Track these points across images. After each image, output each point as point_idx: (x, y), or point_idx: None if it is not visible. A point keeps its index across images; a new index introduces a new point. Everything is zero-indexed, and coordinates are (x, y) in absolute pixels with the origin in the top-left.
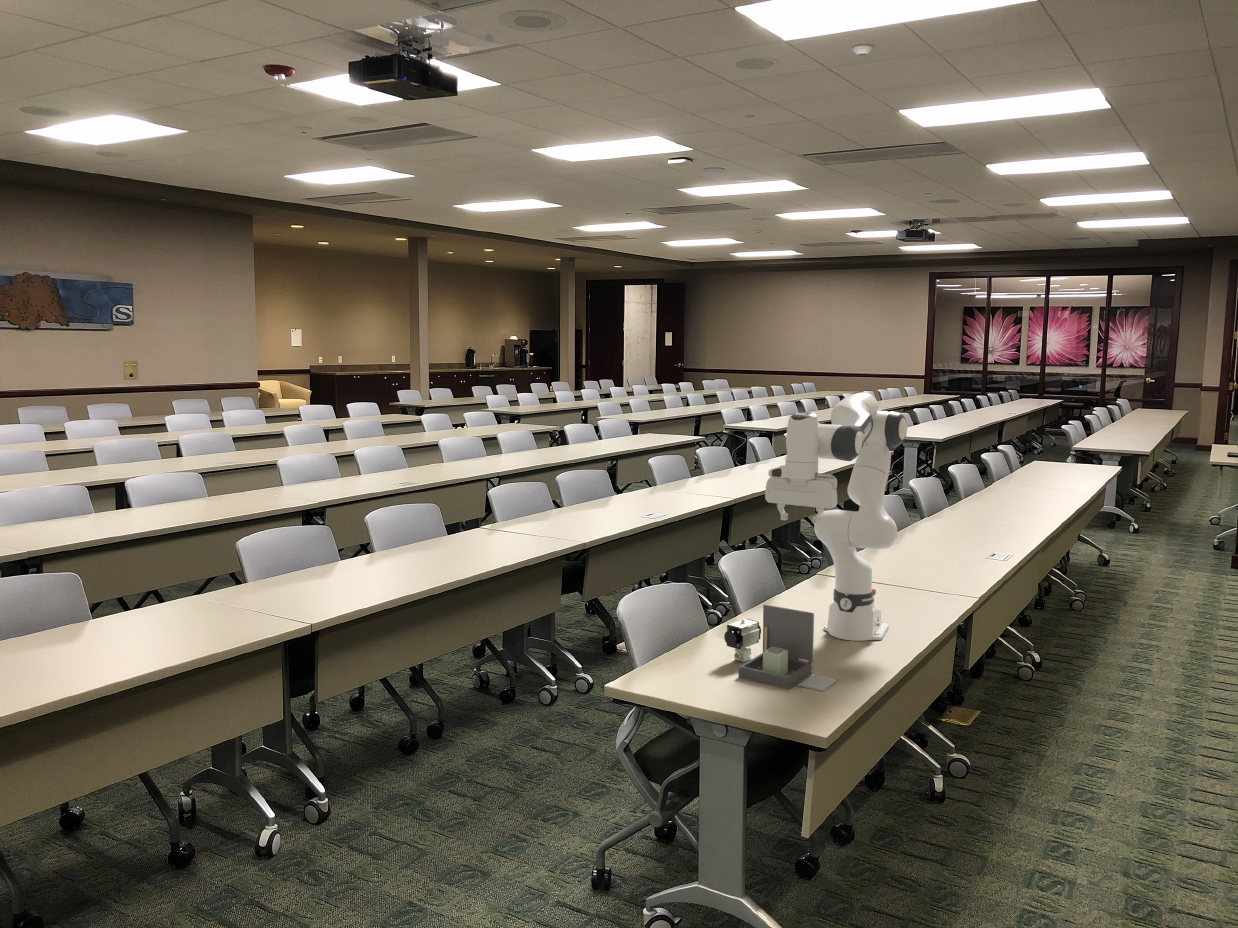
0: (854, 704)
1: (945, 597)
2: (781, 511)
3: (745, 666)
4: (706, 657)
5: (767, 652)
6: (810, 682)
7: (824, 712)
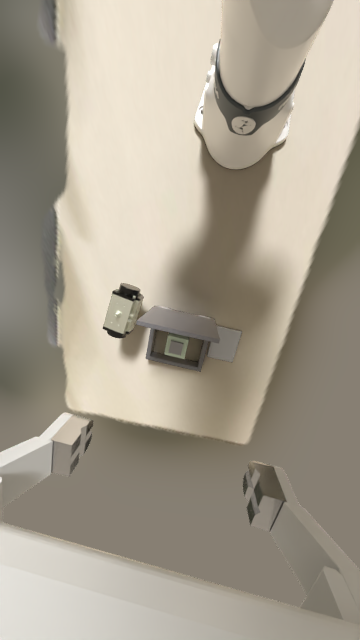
0: (264, 381)
1: None
2: (30, 487)
3: (150, 352)
4: (98, 311)
5: (169, 354)
6: (217, 347)
7: (240, 404)
